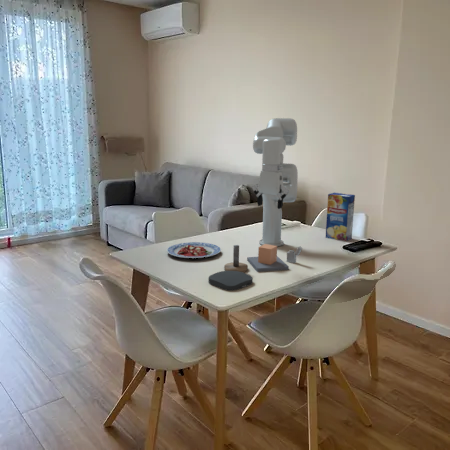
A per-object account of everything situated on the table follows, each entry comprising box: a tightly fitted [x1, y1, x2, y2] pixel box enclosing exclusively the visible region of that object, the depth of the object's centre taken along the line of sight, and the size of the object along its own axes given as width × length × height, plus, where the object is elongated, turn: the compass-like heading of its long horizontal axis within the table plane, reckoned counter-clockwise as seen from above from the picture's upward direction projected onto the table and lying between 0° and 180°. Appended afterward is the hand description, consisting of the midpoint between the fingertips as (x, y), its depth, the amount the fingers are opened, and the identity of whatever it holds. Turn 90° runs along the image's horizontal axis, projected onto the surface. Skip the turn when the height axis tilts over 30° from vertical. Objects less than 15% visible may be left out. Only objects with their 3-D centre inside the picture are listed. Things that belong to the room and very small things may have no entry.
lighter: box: [286, 246, 303, 264], centre depth 204 cm, size 7×2×8 cm, turn 48°
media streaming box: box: [208, 270, 254, 291], centre depth 179 cm, size 15×15×3 cm
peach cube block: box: [257, 244, 278, 265], centre depth 200 cm, size 6×6×7 cm
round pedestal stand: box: [223, 244, 249, 273], centre depth 193 cm, size 10×10×10 cm
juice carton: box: [325, 192, 356, 242], centre depth 244 cm, size 12×8×24 cm, turn 50°
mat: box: [246, 256, 290, 273], centre depth 200 cm, size 16×14×2 cm
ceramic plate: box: [166, 241, 222, 260], centre depth 217 cm, size 26×26×3 cm
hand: (269, 206), depth 199 cm, fingers open, 9 cm apart
